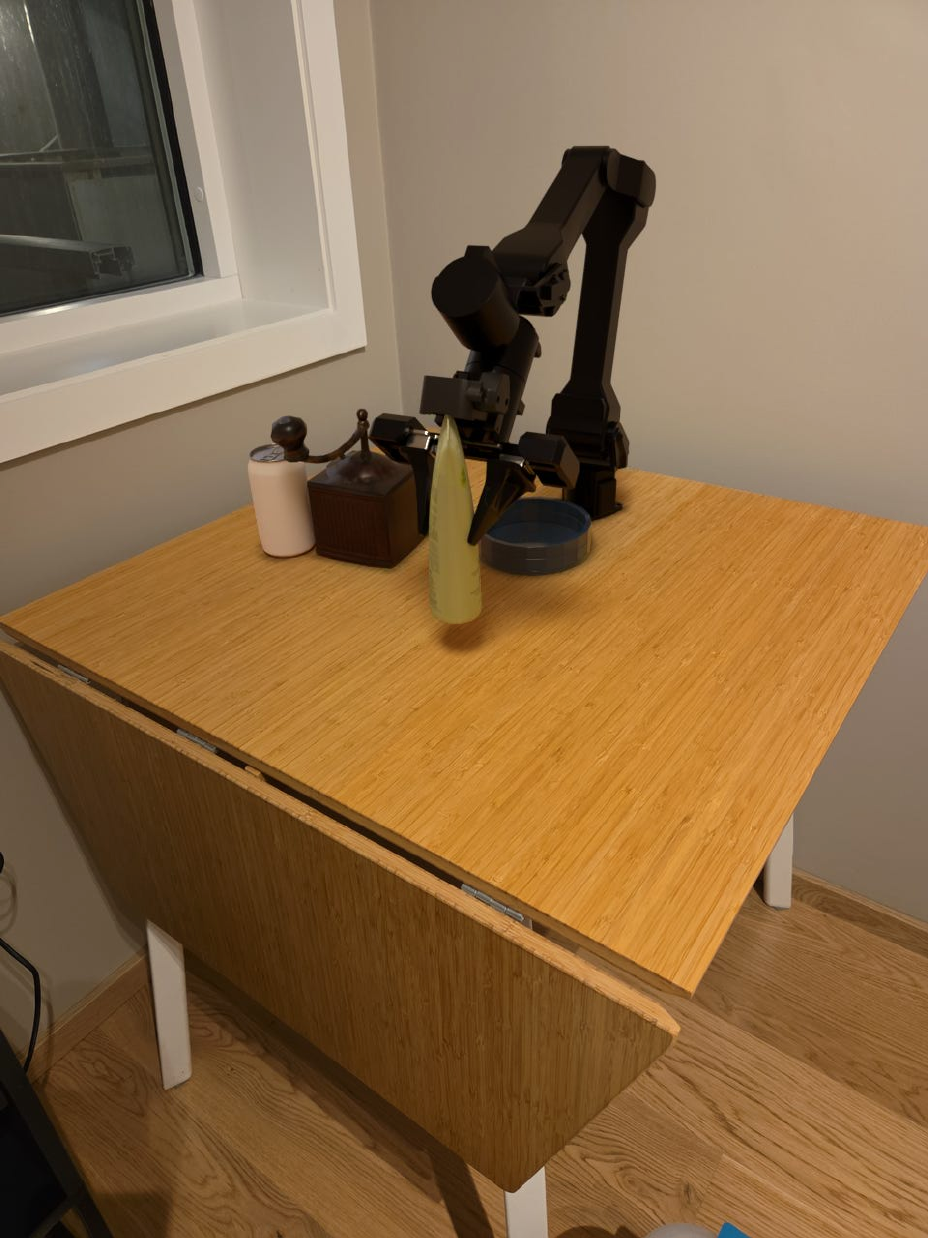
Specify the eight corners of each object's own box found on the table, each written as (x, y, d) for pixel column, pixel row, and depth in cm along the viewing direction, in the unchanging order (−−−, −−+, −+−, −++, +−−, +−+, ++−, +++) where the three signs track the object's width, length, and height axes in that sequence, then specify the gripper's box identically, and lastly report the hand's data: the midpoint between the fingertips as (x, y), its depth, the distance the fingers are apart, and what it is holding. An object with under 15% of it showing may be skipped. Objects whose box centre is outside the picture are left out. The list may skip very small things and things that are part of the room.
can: (326, 539, 109) (314, 444, 103) (296, 562, 104) (281, 465, 98) (282, 531, 112) (267, 438, 105) (251, 554, 107) (233, 458, 100)
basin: (454, 544, 107) (452, 517, 105) (540, 513, 113) (540, 487, 111) (523, 587, 97) (523, 558, 95) (614, 550, 103) (615, 523, 102)
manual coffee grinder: (354, 518, 114) (337, 377, 104) (433, 531, 110) (423, 385, 100) (285, 574, 102) (259, 421, 93) (370, 591, 98) (352, 433, 88)
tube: (498, 613, 85) (494, 418, 73) (458, 636, 82) (447, 437, 71) (458, 589, 88) (448, 399, 77) (418, 610, 86) (402, 417, 74)
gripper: (366, 323, 78) (311, 490, 76) (569, 339, 71) (514, 526, 68) (418, 384, 88) (371, 533, 86) (600, 404, 81) (553, 569, 78)
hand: (445, 539), depth 79 cm, fingers closed on tube, 4 cm apart
